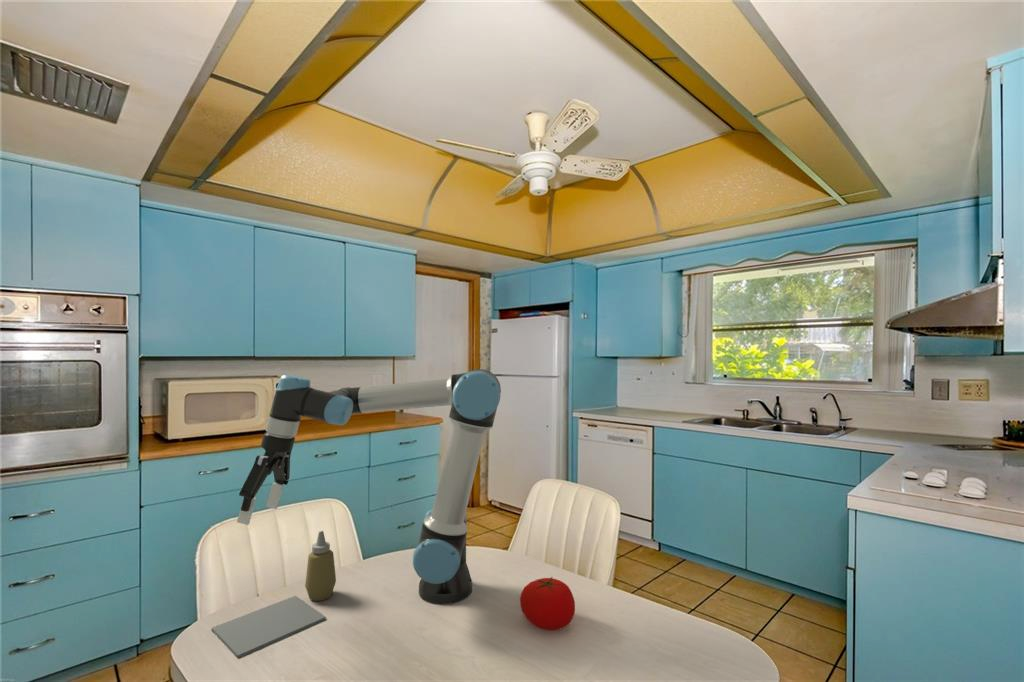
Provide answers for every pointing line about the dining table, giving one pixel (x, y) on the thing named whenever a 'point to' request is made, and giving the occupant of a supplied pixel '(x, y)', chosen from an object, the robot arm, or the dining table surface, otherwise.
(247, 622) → the rubber mat
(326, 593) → the squeeze bottle
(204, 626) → the dining table surface
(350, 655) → the dining table surface
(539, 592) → the tomato
